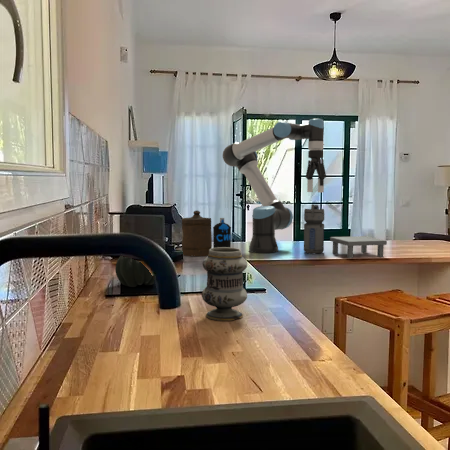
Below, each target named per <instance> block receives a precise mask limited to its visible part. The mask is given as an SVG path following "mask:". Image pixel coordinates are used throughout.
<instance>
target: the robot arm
mask: <svg viewBox="0 0 450 450" xmlns="http://www.w3.org/2000/svg"><path fill="white" fill-rule="evenodd" d="M324 122H325V121H324V119H322V118H311V119H309V120H308V123H305V124H303V123H302V124H297V123H291V122H287V121H279V122H277V123H276V124H275V125H274V127H271V128H269V129H267V130H265V131H262V132H260V133H259V134H255V135H253V136H251V137H249V138H247V139H245V140H242V141H240V142H234V143H231V144H229V145H227V146H226V147H225V148H224V149H223V151H222V160H223V162H224V163H225V164H226V165H227V166H229V167H236V168H237V169H238V171H239V173H240V174H243V175H244V176H245V178H246V179H247V181H248V184H249V185H250V187H251V188H252V190H253V192H254V193H255V195H256V196H257V198H258V201H259V202H260V204H261V206H257V207H254V208H253V209H252V217H251V218H252V235H251V236H252V237H251V240H250V243H249V246H248V252H251V253H258V254H260V253H261V254H270V253H277V252H279V246H278V243H277V239H276V237H275V236H276V233H275V232H276V231H277V230H285V229H287V228H289V227H290V226H291V225H292V222H293V219H294V215H293V212H292V210H291V209H290V208H289V207H286V206H285V205H284V204H283V202H282V201H281V200H278V199H277V198H276V197H277V196H275V194H274V192H273V190H272V188H271V187H270V185H269V183H268V182H267V181H266V179H265V177H264V175H263V173H262V171H261V170H260V168H259V159H258V156H259V155H258V153H257V151H259V150H261V149H264V148H266V147H268V146H271V145H273V144H276V143H278V142H280V141H282V140H283V141H284V140H285V139H288V140H290V141H298V140H308V141H307V143H308V145H307V148H308V151H307V152H308V153H307V156H308V159H310V160H308V161H307V167H306V174H305V178H306V180H307V183H306V185H307V187H306V189H307V190H306V191H307V192H306V193H313V191H314V189H313V188H314V178H313V177H314V175H315V172H316V173H317V176H318V178H317V193H324V188H325V187H324V186H325V185H324V184H325V183H324V182H325V178H327V173H326V167H325V164H324V163H325V162H324V161H325V160H324V159H323V158H324V146H325V144H324V135H325V133H324V132H325V131H324V130H325V124H324Z"/></svg>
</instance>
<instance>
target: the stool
mask: <svg viewBox="0 0 450 450" xmlns="http://www.w3.org/2000/svg"><path fill="white" fill-rule="evenodd" d="M329 238H330V239H329V241H330V242H332V254H339V244H340V245H343V246H347V251H346V254H347V255H346V257H347V259H353V258H354V246H356V247H359V246H361V249H360V251H361V253H367V252H368V249H367V248H368V246H377V251H376V252H377V255H376V256H377V257H378V258H384V249H385V248H384V246H387V244H388V243H387V242H388V240H384V239H381V238H376V237H375V238H374V237H371V236H367V235H365V236H359V235H358V236H330V237H329Z"/></svg>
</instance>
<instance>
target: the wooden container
mask: <svg viewBox="0 0 450 450" xmlns="http://www.w3.org/2000/svg"><path fill="white" fill-rule="evenodd" d="M181 222H182V224H181V247H182V248H181V252H182V251H183V255H182V256H185V257H208V254H209V250H210V249H211V248H213V247H212V246H213V239H212V238H213V237H212V236H213V235H212V218H210V217H202V216H201V211H200V210H194V211H193V214H192V216H191V217H183V218H181Z"/></svg>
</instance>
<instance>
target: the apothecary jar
mask: <svg viewBox="0 0 450 450" xmlns="http://www.w3.org/2000/svg"><path fill="white" fill-rule="evenodd" d="M247 267H248V261H247V260H246V259H245V257H243V254H242V249H240V248H237V247H218V248H213V247H212V248H211V249H210V250H209V254H208V256H205V258H204V259H203V261H202V268H203V269H204V270H205V271H206V274H207V277H206V287H204V289H203V290H202V292H201V293H202V294H201V298H202V300H203V301H204V302H205V303H206V304H207V305H209V306H212V307H215V308H214V309H212V310H209V311H208V312H207V313H205V317H206V318H207V319H210V320H214V321H220V322H230V321H234V320H235V321H236V320H237V319H238V320H240V319H242V318H243V316H244V315H243V313H242V312H241V311H238V310H237V309H235V307H239V306H240V305H242V304H244V303H245V302H246V300H247V298H248V293H247V290H246V289H245V288H244V285H243V282H244V281H243V280H244V279H243V273H244V271H245V270H246V269H247Z"/></svg>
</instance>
